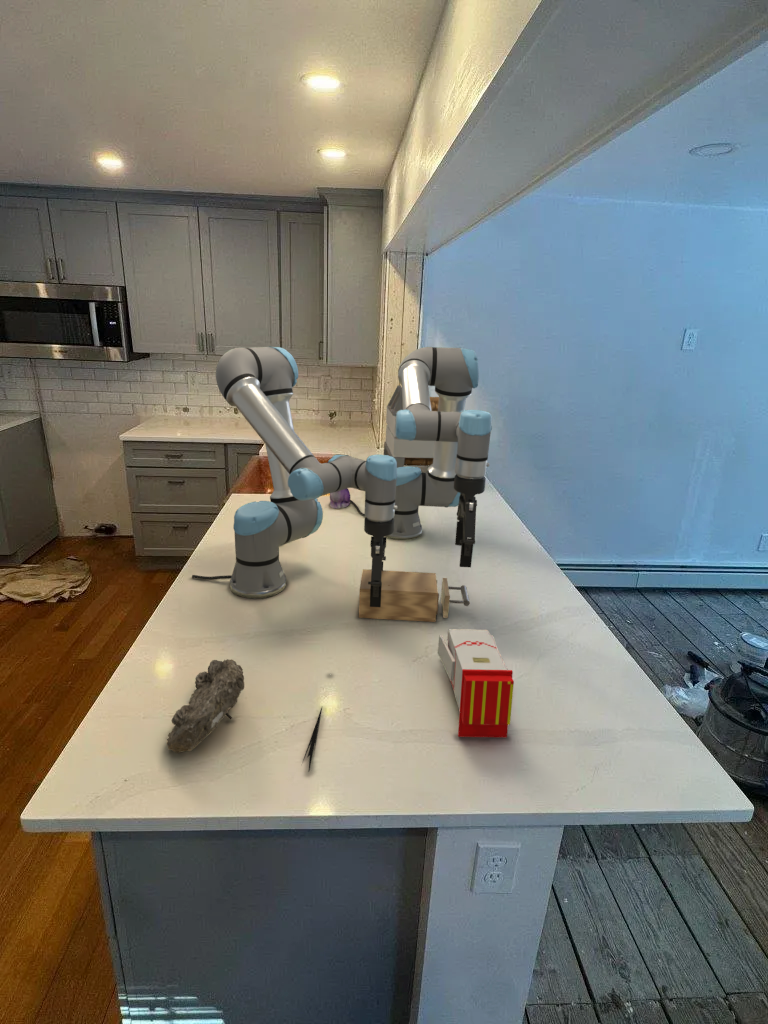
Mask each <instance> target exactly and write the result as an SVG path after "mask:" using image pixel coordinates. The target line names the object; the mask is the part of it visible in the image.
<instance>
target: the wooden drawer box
mask: <svg viewBox="0 0 768 1024" xmlns="http://www.w3.org/2000/svg"><path fill="white" fill-rule="evenodd" d="M371 573H372V569H366V568H365V569H364V568H363V569H362V571H361V577H360V585H359V600H358V618H359V619H374V620H375V619H376V620H377V619H378V620H392V621H411V622H430V623H436V621H437V614H436V611H437V599H438V593H439V590H438V580H437V574H436V573H435V572H420V571H404V570H403V571H401V570H387V569H385V570H384V569H383V570H382V575H381V582H382V587H381V607H370V589H371V585H370V584H368V582H371ZM437 612H438V611H437Z"/></svg>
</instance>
